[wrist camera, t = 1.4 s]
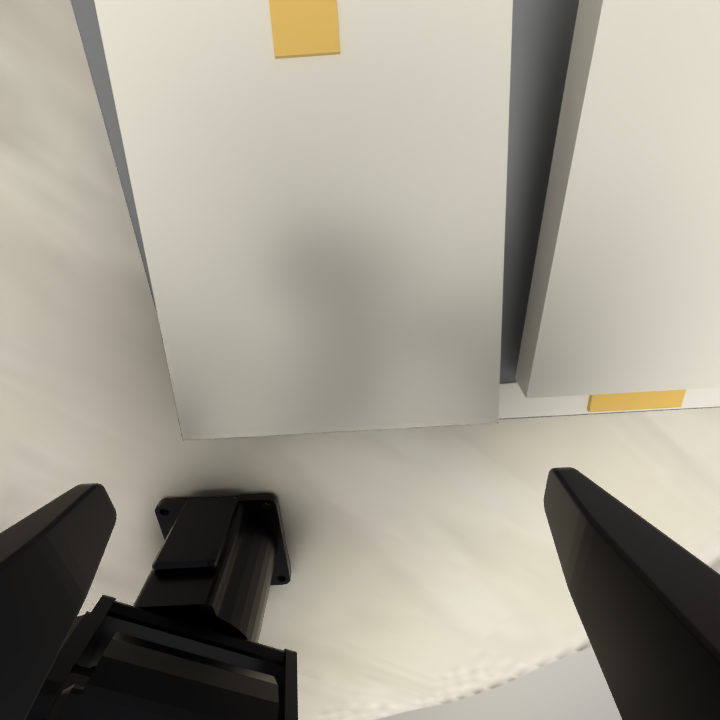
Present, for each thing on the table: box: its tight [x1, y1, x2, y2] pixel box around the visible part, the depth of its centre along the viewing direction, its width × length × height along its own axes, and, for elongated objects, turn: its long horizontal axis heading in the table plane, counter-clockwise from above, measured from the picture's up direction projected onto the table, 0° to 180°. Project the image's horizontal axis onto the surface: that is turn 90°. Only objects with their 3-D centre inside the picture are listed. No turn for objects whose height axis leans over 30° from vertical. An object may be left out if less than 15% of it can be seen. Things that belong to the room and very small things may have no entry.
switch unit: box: [71, 0, 720, 419], centre depth 15 cm, size 15×24×4 cm, turn 94°
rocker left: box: [94, 0, 513, 440], centre depth 12 cm, size 12×10×1 cm
